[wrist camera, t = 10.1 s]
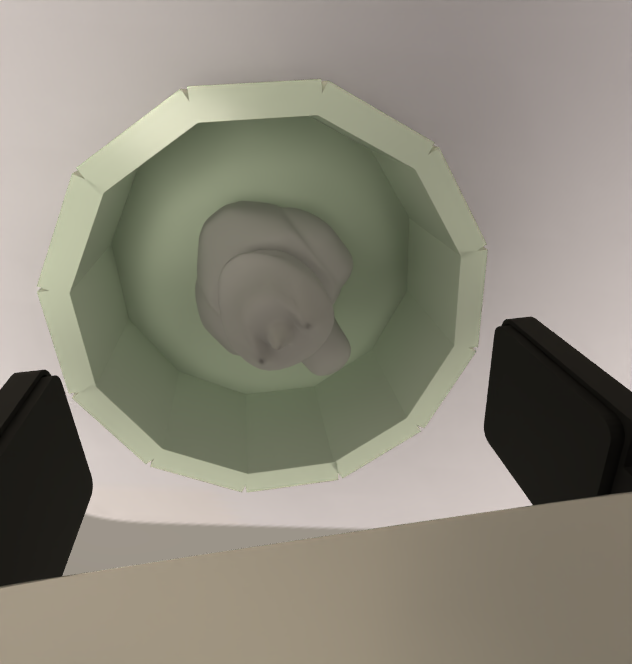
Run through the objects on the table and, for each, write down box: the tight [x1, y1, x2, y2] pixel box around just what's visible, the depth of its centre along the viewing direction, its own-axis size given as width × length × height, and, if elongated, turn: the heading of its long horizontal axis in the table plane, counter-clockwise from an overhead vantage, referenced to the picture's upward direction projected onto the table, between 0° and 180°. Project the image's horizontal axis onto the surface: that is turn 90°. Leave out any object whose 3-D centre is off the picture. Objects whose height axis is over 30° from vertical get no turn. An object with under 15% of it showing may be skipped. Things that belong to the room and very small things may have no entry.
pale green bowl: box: [37, 79, 488, 492], centre depth 17 cm, size 13×13×6 cm
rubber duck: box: [195, 201, 353, 376], centre depth 16 cm, size 5×7×8 cm
